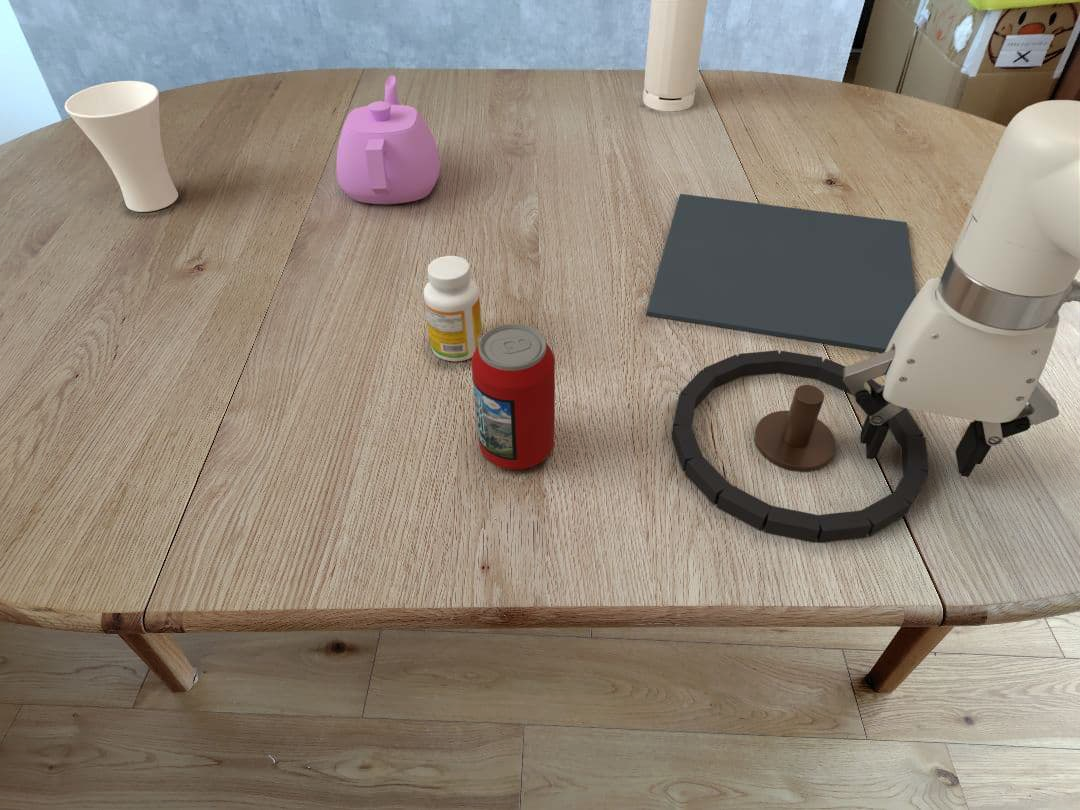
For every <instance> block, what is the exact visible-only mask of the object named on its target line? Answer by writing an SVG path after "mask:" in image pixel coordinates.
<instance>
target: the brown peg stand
mask: <svg viewBox="0 0 1080 810" xmlns="http://www.w3.org/2000/svg"><path fill="white" fill-rule="evenodd" d="M824 400H825V394H824V392H823V391H822V390H821V389H820V388H819V387H817V386H815V385H811V384H802V385H799V386H798V387H796V389H795V391H794V394H793V397H792V401H791V403H790V406H789V410H779V411H773V412H772V413H769V414H767V415H764V416H763V417H762V418H761V419H760V420H759V421H758V423H757V425H756V427H755V431H754V443H755V445H756V448H757V449H758V451H759V452H760V454H761V455H762V456H763V457H764V458H765V459H766V460H768V461H769V462H770V463H772V464H773V465H776V466H777V467H780V468H782V469H785V470H787V471H788V470H789V471H793V472H803V473H805V472H813V471H817V470H820V469H822V468H824V467H825V466H827V465H828V464H829V463H830V462H831V461H832V459H833V458H834V455H835V453H836V448H837V443H836V438H835V436H834V434H833V432H832V430H831V429H830V428H829V426H827V425H826V424H825V423H824V422H822V420H819V419H818V417H819V414H820V412H821V408H822V406H823V403H824Z"/></svg>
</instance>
